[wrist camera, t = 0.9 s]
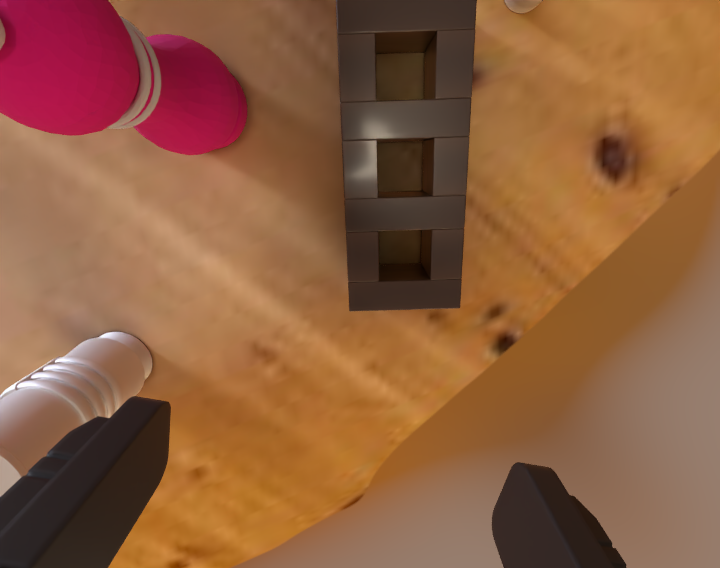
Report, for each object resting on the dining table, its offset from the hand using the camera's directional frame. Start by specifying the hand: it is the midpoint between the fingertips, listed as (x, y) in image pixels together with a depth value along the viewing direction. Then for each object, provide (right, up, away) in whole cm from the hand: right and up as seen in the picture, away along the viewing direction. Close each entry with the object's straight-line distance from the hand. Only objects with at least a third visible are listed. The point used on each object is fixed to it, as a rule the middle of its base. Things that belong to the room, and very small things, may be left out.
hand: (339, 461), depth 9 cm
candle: (-23, -3, +28) cm, 36 cm away
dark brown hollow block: (+4, +14, +22) cm, 26 cm away
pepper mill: (-12, +18, +21) cm, 30 cm away
